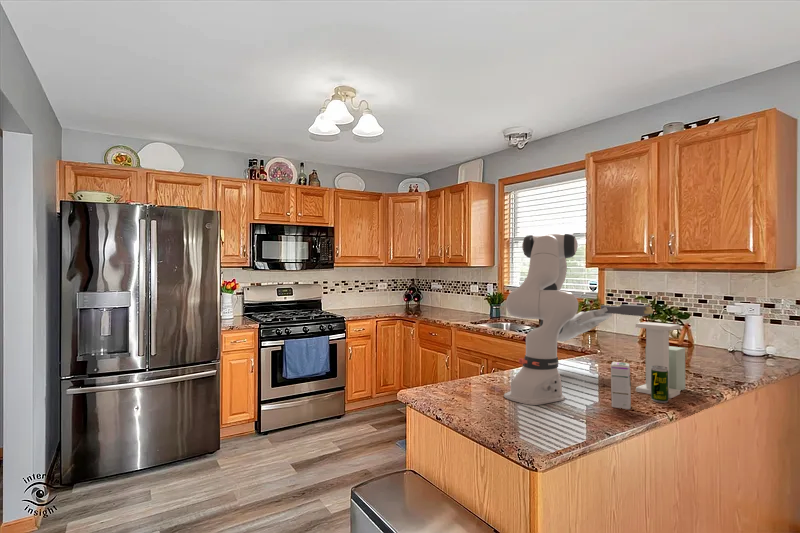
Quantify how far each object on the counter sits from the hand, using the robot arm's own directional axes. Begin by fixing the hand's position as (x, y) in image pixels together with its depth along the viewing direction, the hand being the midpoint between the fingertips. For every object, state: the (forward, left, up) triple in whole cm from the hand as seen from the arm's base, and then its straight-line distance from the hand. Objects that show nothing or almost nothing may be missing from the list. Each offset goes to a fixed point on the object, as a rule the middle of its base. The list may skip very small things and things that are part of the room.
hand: (609, 308), depth 189 cm
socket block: (0, -22, -30) cm, 37 cm away
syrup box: (-38, -22, -30) cm, 53 cm away
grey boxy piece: (0, -7, -2) cm, 7 cm away
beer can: (-21, -28, -30) cm, 46 cm away
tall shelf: (-10, -23, -30) cm, 39 cm away
